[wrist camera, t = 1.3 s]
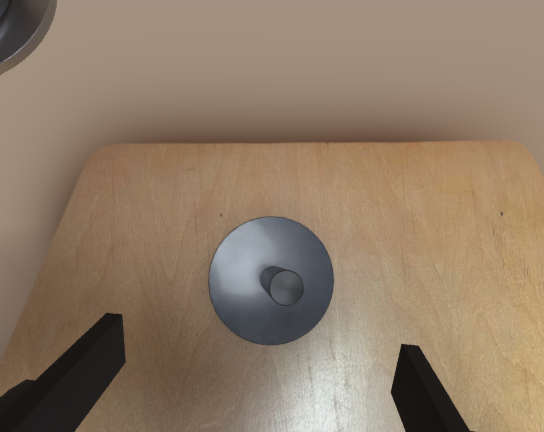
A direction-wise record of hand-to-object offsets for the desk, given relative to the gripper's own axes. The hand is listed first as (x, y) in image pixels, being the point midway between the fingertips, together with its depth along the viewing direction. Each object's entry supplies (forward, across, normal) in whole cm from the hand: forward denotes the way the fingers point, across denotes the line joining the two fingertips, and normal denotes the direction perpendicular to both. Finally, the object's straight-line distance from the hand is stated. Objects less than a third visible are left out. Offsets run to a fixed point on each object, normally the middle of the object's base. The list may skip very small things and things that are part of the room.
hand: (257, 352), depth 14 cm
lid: (+18, 0, -5) cm, 18 cm away
